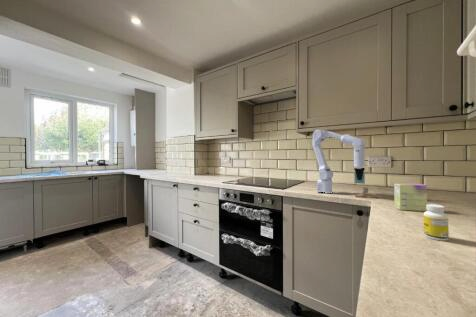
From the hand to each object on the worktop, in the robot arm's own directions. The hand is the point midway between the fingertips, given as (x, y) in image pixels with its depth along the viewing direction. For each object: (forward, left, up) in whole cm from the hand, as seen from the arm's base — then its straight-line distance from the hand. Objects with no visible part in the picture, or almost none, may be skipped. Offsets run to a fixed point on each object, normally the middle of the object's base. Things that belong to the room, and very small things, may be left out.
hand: (359, 179), depth 126 cm
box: (+20, -25, -11) cm, 34 cm away
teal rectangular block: (0, 0, -2) cm, 2 cm away
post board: (+3, +2, -10) cm, 11 cm away
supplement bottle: (+20, -63, -11) cm, 67 cm away
